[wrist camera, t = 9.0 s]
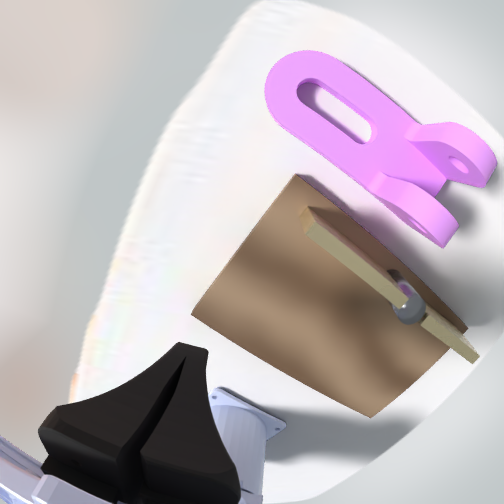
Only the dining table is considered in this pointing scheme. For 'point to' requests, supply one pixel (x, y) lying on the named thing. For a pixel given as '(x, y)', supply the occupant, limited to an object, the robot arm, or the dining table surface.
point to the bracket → (381, 142)
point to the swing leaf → (447, 333)
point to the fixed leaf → (365, 267)
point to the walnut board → (321, 308)
